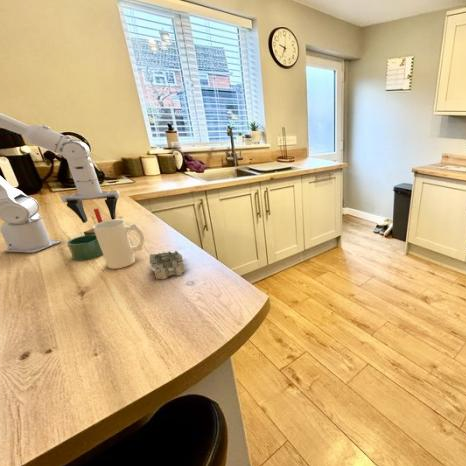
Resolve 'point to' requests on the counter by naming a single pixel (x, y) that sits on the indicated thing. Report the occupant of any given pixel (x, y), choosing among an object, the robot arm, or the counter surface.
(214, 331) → the counter surface
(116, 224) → the mug
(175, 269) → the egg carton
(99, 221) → the straw
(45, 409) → the counter surface
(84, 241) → the cup
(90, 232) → the straw holder
